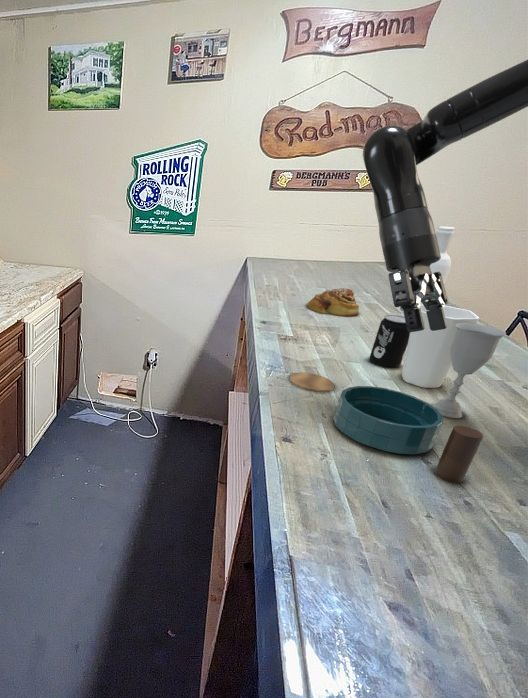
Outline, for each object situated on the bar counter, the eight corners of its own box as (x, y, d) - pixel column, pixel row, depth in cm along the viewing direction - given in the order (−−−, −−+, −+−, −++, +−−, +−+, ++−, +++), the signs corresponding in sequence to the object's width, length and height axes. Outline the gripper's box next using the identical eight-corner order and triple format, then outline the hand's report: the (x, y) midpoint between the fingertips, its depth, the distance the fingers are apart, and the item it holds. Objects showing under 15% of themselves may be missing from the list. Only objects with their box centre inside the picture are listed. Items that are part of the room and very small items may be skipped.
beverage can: (400, 371, 111) (416, 324, 107) (368, 364, 115) (382, 319, 110) (399, 361, 116) (414, 317, 112) (368, 356, 120) (382, 312, 115)
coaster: (329, 378, 108) (330, 376, 108) (337, 394, 100) (337, 392, 100) (287, 372, 111) (288, 370, 110) (292, 388, 103) (292, 386, 103)
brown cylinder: (457, 471, 75) (477, 427, 72) (467, 485, 72) (488, 439, 69) (431, 467, 77) (449, 423, 73) (439, 479, 73) (459, 435, 70)
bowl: (414, 420, 90) (424, 393, 88) (445, 465, 77) (458, 434, 75) (326, 406, 95) (333, 380, 93) (341, 446, 82) (350, 417, 79)
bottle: (396, 328, 140) (430, 227, 128) (396, 321, 146) (428, 224, 134) (429, 333, 136) (467, 229, 123) (427, 326, 141) (463, 226, 129)
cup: (389, 368, 113) (412, 301, 106) (440, 376, 109) (467, 307, 102) (398, 386, 104) (423, 315, 97) (454, 396, 100) (485, 322, 93)
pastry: (361, 318, 148) (368, 294, 145) (310, 313, 153) (315, 290, 150) (352, 307, 160) (359, 284, 156) (305, 302, 164) (310, 280, 161)
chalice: (430, 416, 92) (463, 332, 84) (419, 401, 98) (449, 321, 90) (475, 423, 89) (514, 337, 82) (461, 407, 95) (496, 326, 88)
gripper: (414, 228, 73) (436, 327, 72) (451, 235, 80) (472, 324, 79) (363, 246, 80) (383, 336, 78) (402, 250, 87) (421, 333, 85)
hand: (428, 330), depth 78 cm, fingers open, 8 cm apart
